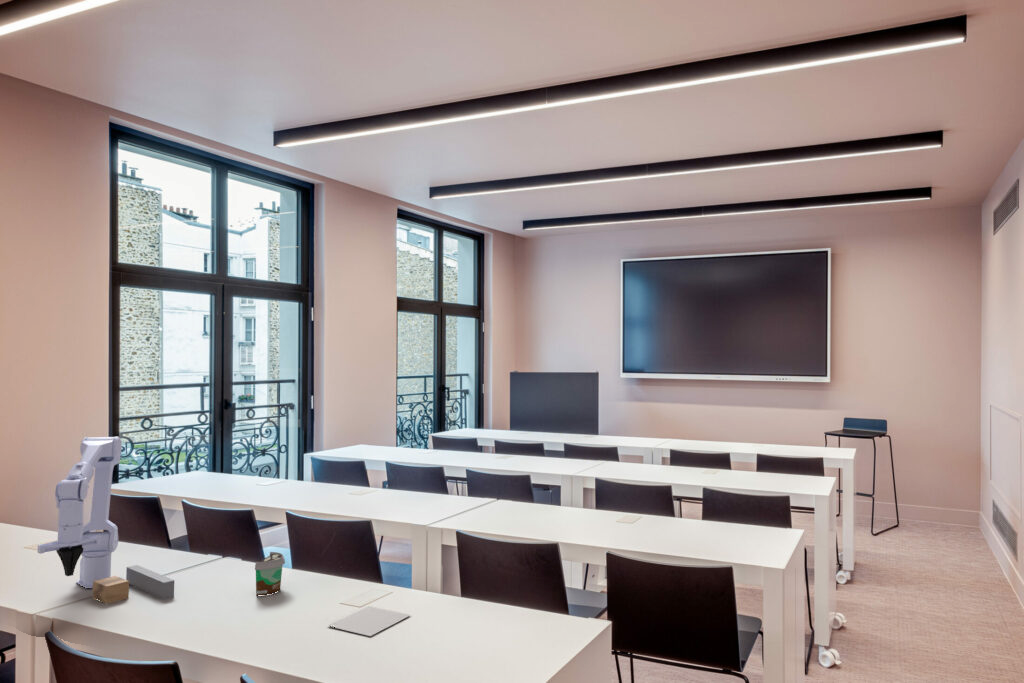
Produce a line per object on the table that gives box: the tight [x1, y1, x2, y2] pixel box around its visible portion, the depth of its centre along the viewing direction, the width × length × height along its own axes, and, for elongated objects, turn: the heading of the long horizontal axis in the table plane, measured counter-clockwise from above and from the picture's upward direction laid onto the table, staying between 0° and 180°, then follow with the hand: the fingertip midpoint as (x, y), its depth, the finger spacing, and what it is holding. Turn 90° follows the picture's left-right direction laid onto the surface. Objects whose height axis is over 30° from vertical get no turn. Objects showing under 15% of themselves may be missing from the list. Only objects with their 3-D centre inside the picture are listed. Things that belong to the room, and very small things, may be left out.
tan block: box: [92, 575, 130, 604], centre depth 197 cm, size 8×6×5 cm
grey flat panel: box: [329, 605, 411, 637], centre depth 187 cm, size 23×25×1 cm
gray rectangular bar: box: [125, 564, 175, 601], centre depth 205 cm, size 24×3×5 cm, turn 51°
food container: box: [254, 551, 286, 596], centre depth 205 cm, size 12×6×10 cm, turn 179°
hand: (69, 575), depth 188 cm, fingers closed
